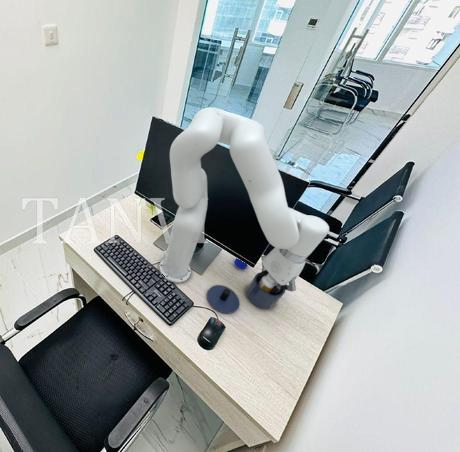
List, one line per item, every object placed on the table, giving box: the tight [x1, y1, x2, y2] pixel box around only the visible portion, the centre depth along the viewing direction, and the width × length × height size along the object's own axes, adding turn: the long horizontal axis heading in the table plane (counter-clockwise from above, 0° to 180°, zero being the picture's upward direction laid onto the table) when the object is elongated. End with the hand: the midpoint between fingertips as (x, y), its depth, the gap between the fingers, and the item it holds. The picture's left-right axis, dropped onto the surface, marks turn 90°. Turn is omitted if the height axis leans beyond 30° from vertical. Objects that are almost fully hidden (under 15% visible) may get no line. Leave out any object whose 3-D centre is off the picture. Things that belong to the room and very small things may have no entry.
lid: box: [206, 284, 240, 314], centre depth 92 cm, size 11×11×6 cm
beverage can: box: [233, 257, 249, 270], centre depth 101 cm, size 5×5×15 cm
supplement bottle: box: [258, 273, 278, 294], centre depth 90 cm, size 5×5×10 cm
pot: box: [245, 271, 286, 310], centre depth 93 cm, size 10×10×8 cm
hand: (267, 284), depth 90 cm, fingers closed on supplement bottle, 5 cm apart
